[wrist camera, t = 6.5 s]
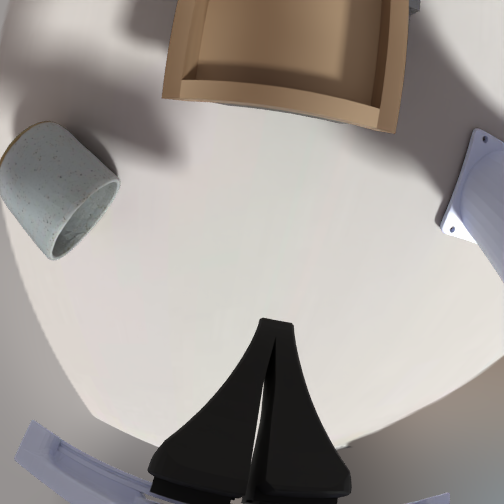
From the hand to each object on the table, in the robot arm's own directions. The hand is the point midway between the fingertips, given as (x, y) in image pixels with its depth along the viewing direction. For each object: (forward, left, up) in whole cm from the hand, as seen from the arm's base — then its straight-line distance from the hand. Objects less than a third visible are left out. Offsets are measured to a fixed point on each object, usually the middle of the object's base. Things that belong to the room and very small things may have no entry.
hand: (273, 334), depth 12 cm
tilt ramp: (+5, -15, -6) cm, 17 cm away
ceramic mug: (+17, -1, -10) cm, 20 cm away
